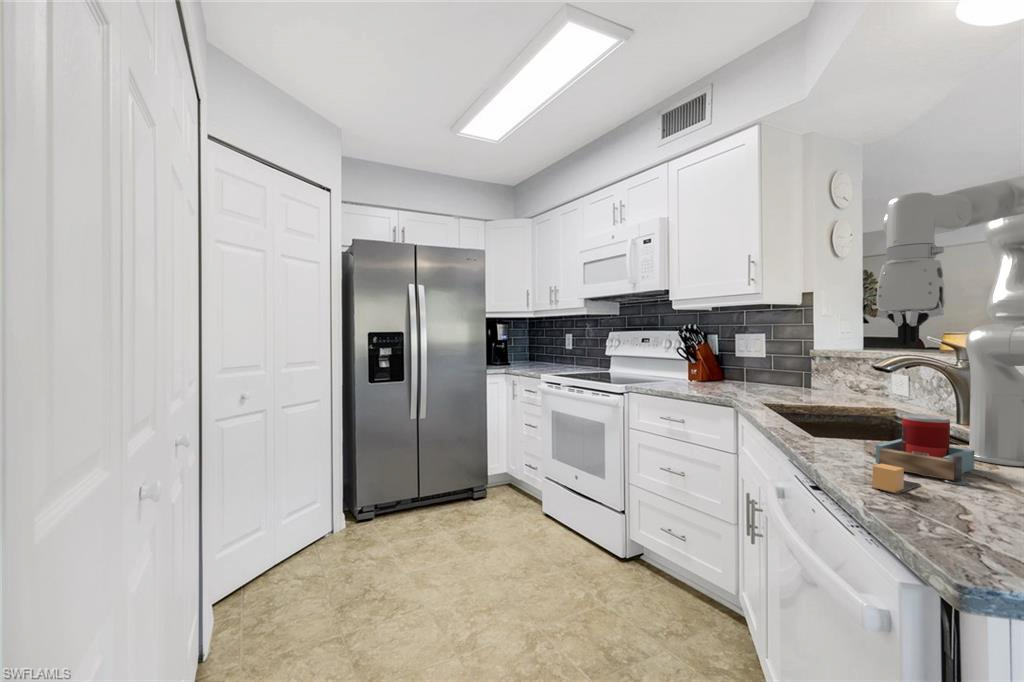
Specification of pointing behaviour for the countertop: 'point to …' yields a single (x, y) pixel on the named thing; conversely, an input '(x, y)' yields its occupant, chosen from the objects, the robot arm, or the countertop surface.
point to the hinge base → (956, 482)
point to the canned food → (926, 434)
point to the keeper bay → (964, 453)
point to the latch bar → (923, 463)
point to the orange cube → (888, 477)
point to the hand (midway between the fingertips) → (908, 345)
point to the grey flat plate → (907, 486)
